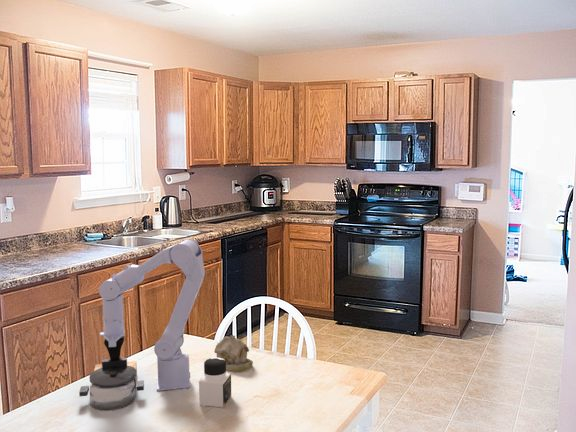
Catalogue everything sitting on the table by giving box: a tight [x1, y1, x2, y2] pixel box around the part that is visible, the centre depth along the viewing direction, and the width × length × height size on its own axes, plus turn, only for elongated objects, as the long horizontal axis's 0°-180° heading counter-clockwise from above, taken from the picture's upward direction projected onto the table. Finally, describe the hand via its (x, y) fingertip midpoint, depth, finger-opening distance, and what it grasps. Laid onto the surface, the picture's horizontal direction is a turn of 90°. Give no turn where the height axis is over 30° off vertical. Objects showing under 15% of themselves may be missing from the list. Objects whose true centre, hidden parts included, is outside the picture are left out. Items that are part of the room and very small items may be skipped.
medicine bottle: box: [198, 356, 232, 408], centre depth 154 cm, size 7×7×12 cm
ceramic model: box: [214, 334, 254, 374], centre depth 180 cm, size 14×11×10 cm
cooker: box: [78, 360, 145, 412], centre depth 160 cm, size 17×22×4 cm
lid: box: [89, 357, 138, 387], centre depth 159 cm, size 13×13×3 cm
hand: (115, 361), depth 166 cm, fingers closed
